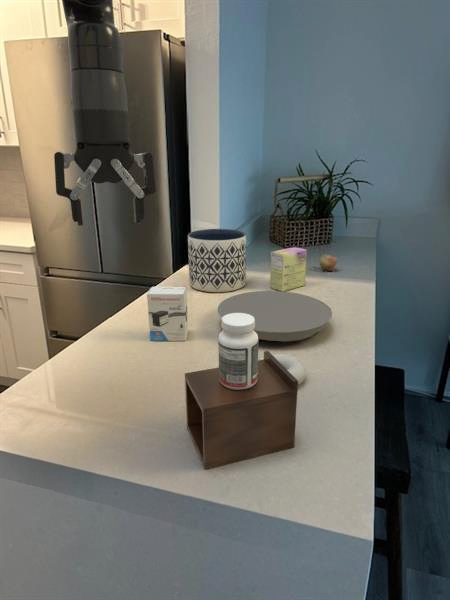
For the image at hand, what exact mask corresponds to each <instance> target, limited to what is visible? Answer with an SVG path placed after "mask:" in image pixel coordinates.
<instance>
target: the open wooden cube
mask: <svg viewBox="0 0 450 600" xmlns="http://www.w3.org/2000/svg"><path fill="white" fill-rule="evenodd" d="M263 357H264V359H263V360H259V359H258V379H257V382H256V384H255V385H254V386H252V387H250V388H247V389H243V390H234V389H230V388H227V387H225V386H224V385H222V384H221V382H220V380H219V366H217V367H212V368H206V369H201V370H196V371H190V372H185V373H184V391H185V415H186V416H185V418H186V430H187V431H188V434H189V436H190V438H191V441H192V443H193V445H194V447H195V450H196V452H197V454H198V456H199V457H198V458H199V459H200V461H201V463H202V466H203V468H204V470H209V469H213V468H217V467H221V466H225V465H228V464H229V465H230V464H233V463H237V462H240V461H244V460H248V459H252V458H253V459H254V458H256V457H261V456H264V455H268V454H273V453H276V452H280V451H281V452H282V451H284V450H288V449H292V448H294V447H295V439H296V421H297V420H296V419H297V406H298V405H297V404H298V390H299V384H298V380H297V379H296V378H295V377H294V376H293V375H292V374H291V373H290V372H289V371H288V370H287V369H286V368H285V367H284V366H283V365H282V364H281V363H280V362H279V361H278V360H277V359H276V358H275V357H274V356H273V355H272V353H271V352H270V351H269V350H265V351H263Z"/></svg>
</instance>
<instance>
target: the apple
mask: <svg viewBox="0 0 450 600" xmlns="http://www.w3.org/2000/svg"><path fill="white" fill-rule="evenodd" d="M318 261H319V266H320V269H321V270H322V271H325V272H333V271H334V270H335V268H336V265H337V263H338V259H337V257H336V256H335V255H331V254H327V253H325V254H323V255H321V257H320V258H319V260H318Z"/></svg>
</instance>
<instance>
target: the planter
mask: <svg viewBox="0 0 450 600" xmlns="http://www.w3.org/2000/svg"><path fill="white" fill-rule="evenodd" d="M187 253H188V254H187V255H188V278H189V279H188V280H189V282H188V283H189V285H190V287H192V288H193V289H195V290H196V291H201V292H205V293H228V292H229V293H230V292H233V291H234V292H235V291H237V290H239V289H241V288H243V287H244V286H245V285H246V282H247V281H246V280H247V279H246V278H247V277H246V276H247V275H246V272H247V271H246V270H247V233H246V232H244V231H242V230H239V229H238V230H237V229H230V228H206V229H199V230H198V229H197V230H194V231H191V232H188V234H187Z"/></svg>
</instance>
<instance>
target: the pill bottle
mask: <svg viewBox="0 0 450 600" xmlns="http://www.w3.org/2000/svg"><path fill="white" fill-rule="evenodd" d="M220 323H221V324H220V327H221V329H222V331H220V333H219V335H218V341H217V342H218V367H219V380H220V382H221V384H222V385H224V386H225V387H227V388H230V389H234V390H243V389H247V388H250V387H252V386H254V385H255V384H256V382H257V379H258V360H259V339H258V335H257V333H256V332H255V331H254V330H253V329H254V328H255V319H254V317H253V316H251V315H249V314H245V313H231V314H227V315H225V316H223V317H221V322H220Z"/></svg>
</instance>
